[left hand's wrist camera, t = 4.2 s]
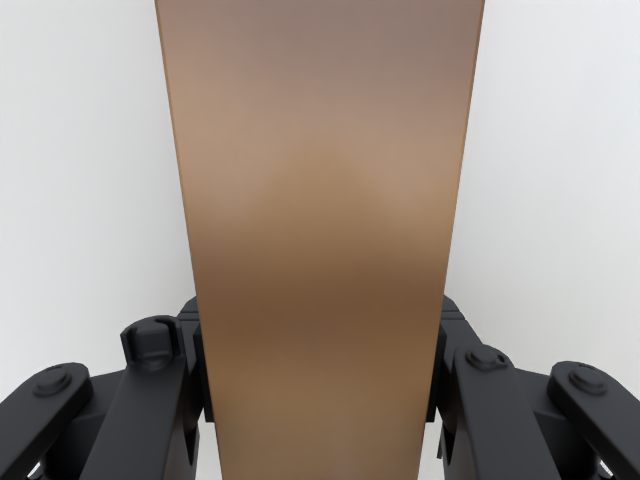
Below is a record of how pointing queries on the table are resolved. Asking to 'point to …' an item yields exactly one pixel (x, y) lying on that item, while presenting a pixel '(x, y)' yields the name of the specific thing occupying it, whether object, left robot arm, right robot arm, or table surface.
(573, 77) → the table surface
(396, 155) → the post
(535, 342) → the table surface
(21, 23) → the table surface
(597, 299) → the table surface
